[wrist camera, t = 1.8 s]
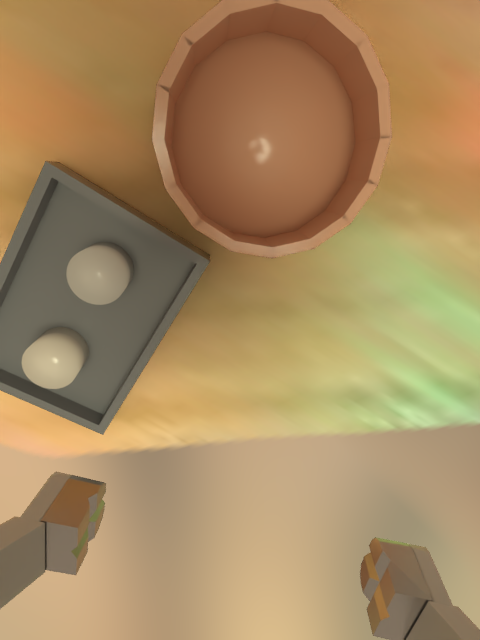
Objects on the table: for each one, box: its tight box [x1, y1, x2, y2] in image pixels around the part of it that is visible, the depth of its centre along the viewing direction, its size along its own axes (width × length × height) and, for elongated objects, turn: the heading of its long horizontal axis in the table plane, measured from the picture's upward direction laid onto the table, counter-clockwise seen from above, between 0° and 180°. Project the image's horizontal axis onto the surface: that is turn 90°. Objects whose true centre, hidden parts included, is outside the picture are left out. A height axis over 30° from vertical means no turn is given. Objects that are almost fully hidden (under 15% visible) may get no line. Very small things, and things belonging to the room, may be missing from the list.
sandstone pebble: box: [22, 327, 89, 389], centre depth 33 cm, size 4×4×3 cm
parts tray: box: [0, 161, 210, 435], centre depth 33 cm, size 14×20×2 cm
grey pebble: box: [66, 242, 134, 305], centre depth 30 cm, size 4×4×3 cm
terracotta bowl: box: [152, 0, 392, 258], centre depth 28 cm, size 16×16×6 cm
